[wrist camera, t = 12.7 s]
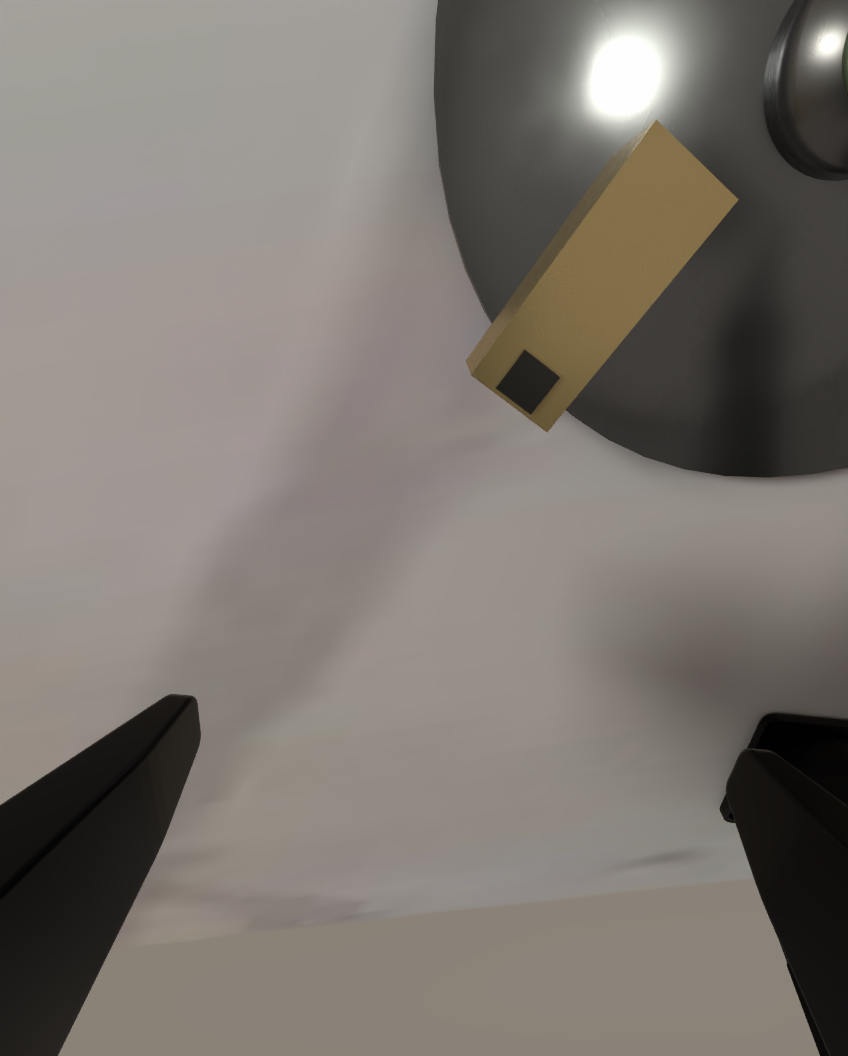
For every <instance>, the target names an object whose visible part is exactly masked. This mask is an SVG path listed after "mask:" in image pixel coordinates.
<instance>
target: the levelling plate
mask: <svg viewBox="0 0 848 1056" xmlns="http://www.w3.org/2000/svg"><path fill="white" fill-rule="evenodd" d="M434 103H435V117H436V130H437V143H438V156H439V167H440V172H441V178H442V183H443V188H444V193H445V199H446V204H447V209H448V214H449V220H450V223H451V226H452V229H453V233H454V236H455V239H456V242H457V245H458V248H459V252H460V255H461V258H462V261H463V264H464V267H465V270H466V272H467V275H468V277H469V279H470V281H471V283H472V285H473V288H474V290H475V292H476V294H477V296H478V299H479V301H480V303H481V305H482V307H483V309H484V312H485V313H486V315H487V317H488V318H489V320H490V321H491V323H493V322H494V320H495V319H496V318H497V316H498V315H499V313H500V312H501V311H502V309H503V308H504V306H505V305H506V304H507V302H508V301H509V299H510V298H511V297H512V295H513V294H514V292H515V291H516V290H517V288H518V287H519V285H520V284H521V283H522V281H523V280H524V278H525V277H526V276H527V274H528V273H529V271H530V270H531V269H532V267H533V266H534V264H535V263H536V262H537V260H538V259H539V257H540V256H541V255H542V253H543V252H544V250H545V249H546V248H547V246H548V245H549V243H550V242H551V241H552V239H553V238H554V236H555V235H556V234H557V232H558V231H559V229H560V228H561V227H562V225H563V224H564V222H565V221H566V220H567V218H568V217H569V215H570V214H571V213H572V211H573V210H574V208H575V207H576V206H577V204H578V203H579V201H580V200H581V199H582V197H583V196H584V194H585V193H586V192H587V190H588V189H589V187H590V186H591V185H592V183H593V182H594V180H595V179H596V178H597V176H598V175H599V173H600V172H601V171H602V169H603V168H604V166H605V165H606V164H607V162H608V161H609V159H610V158H611V157H612V156H613V155H614V154H615V153H616V152H618V151H619V150H620V149H621V148H622V147H624V146H625V145H626V144H627V143H628V142H630V141H631V140H632V139H633V138H634V137H636V136H637V135H638V134H639V133H640V132H642V131H643V130H644V129H645V128H646V127H648V126H649V125H650V124H651V123H653V122H654V121H655V120H656V119H657V120H658V121H659V122H660V123H661V124H662V125H663V126H664V127H665V128H666V129H667V130H668V131H669V132H670V133H671V134H672V135H673V136H674V137H675V138H676V139H677V140H678V141H679V142H680V143H681V144H682V145H683V146H684V147H685V148H686V149H687V150H688V151H689V152H690V153H691V154H692V155H693V156H694V157H695V158H696V159H698V160H699V161H700V162H701V163H702V164H703V165H704V166H705V167H706V168H707V169H708V170H709V171H710V172H711V173H712V174H713V175H714V176H715V177H716V178H717V179H718V180H719V181H720V182H721V183H722V184H723V185H724V186H725V187H726V188H727V189H728V190H729V191H730V192H731V193H732V194H733V195H734V196H735V197H736V198H738V199H739V200H738V201H737V202H736V203H735V205H734V206H733V207H732V208H731V210H730V211H729V212H728V213H727V214H726V216H725V217H724V218H723V219H722V220H721V222H720V223H719V224H718V225H717V227H716V228H715V229H714V230H713V231H712V233H711V234H710V235H709V236H708V237H707V239H706V240H705V241H704V242H703V244H702V245H701V246H700V247H699V248H698V250H697V251H696V252H695V253H694V254H693V256H692V257H691V258H690V259H689V261H688V262H687V263H686V264H685V265H684V267H683V268H682V269H681V270H680V271H679V273H678V274H677V275H676V276H675V278H674V279H673V280H672V281H671V282H670V284H669V285H668V286H667V287H666V288H665V290H664V291H663V292H662V293H661V295H660V296H659V297H658V298H657V299H656V301H655V302H654V303H653V304H652V305H651V307H650V308H649V309H648V310H647V312H646V313H645V314H644V315H643V316H642V318H641V319H640V320H639V321H638V322H637V324H636V325H635V326H634V327H633V329H632V330H631V331H630V332H629V333H628V335H627V336H626V337H625V338H624V339H623V341H622V342H621V343H620V344H619V346H618V347H617V348H616V349H615V350H614V352H613V353H612V354H611V355H610V356H609V358H608V359H607V360H606V361H605V363H604V364H603V365H602V366H601V367H600V369H599V370H598V371H597V372H596V373H595V375H594V376H593V377H592V378H591V380H590V381H589V382H588V383H587V384H586V386H585V387H584V388H583V389H582V390H581V392H580V393H579V394H578V395H577V397H576V398H575V399H574V400H573V401H572V403H571V404H570V405H569V406H568V407H567V409H566V410H567V411H568V412H569V413H570V414H571V415H572V416H574V417H575V418H577V419H578V420H580V421H581V422H583V423H584V424H586V425H587V426H589V427H590V428H592V429H593V430H595V431H596V432H598V433H599V434H601V435H602V436H604V437H605V438H607V439H608V440H610V441H613V442H615V443H617V444H619V445H621V446H623V447H625V448H627V449H629V450H632V451H634V452H636V453H638V454H640V455H642V456H644V457H647V458H650V459H654V460H657V461H660V462H663V463H666V464H670V465H673V466H676V467H679V468H683V469H687V470H693V471H699V472H705V473H711V474H717V475H723V476H745V477H778V476H790V475H802V474H813V473H818V472H823V471H828V470H833V469H838V468H843V467H848V0H438V7H437V15H436V35H435V71H434Z"/></svg>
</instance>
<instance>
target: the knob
mask: <svg viewBox="0 0 848 1056" xmlns="http://www.w3.org/2000/svg"><path fill="white" fill-rule="evenodd" d="M738 200H739V199H738V198H736V197H735V196H734V195H733V194H732V193H731V192H730V191H729V190H728V189H727V188H726V187H725V186H724V185H723V184H722V183H721V182H720V181H719V180H718V179H717V178H716V177H715V176H714V175H713V174H712V173H711V172H710V171H709V170H708V169H707V168H706V167H705V166H704V165H703V164H702V163H701V162H700V161H699V160H698V159H696V158H695V157H694V156H693V155H692V154H691V153H690V152H689V151H688V150H687V149H686V148H685V147H684V146H683V145H682V144H681V143H680V142H679V141H678V140H677V139H676V138H675V137H674V136H673V135H672V134H671V133H670V132H669V131H668V130H667V129H666V128H665V127H664V126H663V125H662V124H661V123H660V122H659V121H658V120H657V119H656V120H655V121H654V122H653V123H651V124H650V125H649V126H648V127H646V128H645V129H644V130H643V131H642V132H640V133H639V134H638V135H637V136H636V137H634V138H633V139H632V140H631V141H630V142H628V143H627V144H626V145H625V146H624V147H622V148H621V149H620V150H619V151H618V152H616V153H615V154H614V155H613V156H612V157H611V158H610V159H609V161H608V162H607V164H606V165H605V166H604V168H603V169H602V171H601V172H600V173H599V175H598V176H597V178H596V179H595V180H594V182H593V183H592V185H591V186H590V187H589V189H588V190H587V192H586V193H585V194H584V196H583V197H582V199H581V200H580V201H579V203H578V204H577V206H576V207H575V208H574V210H573V211H572V213H571V214H570V215H569V217H568V218H567V220H566V221H565V222H564V224H563V225H562V227H561V228H560V229H559V231H558V232H557V234H556V235H555V236H554V238H553V239H552V241H551V242H550V243H549V245H548V246H547V248H546V249H545V250H544V252H543V253H542V255H541V256H540V257H539V259H538V260H537V262H536V263H535V264H534V266H533V267H532V269H531V270H530V271H529V273H528V274H527V276H526V277H525V278H524V280H523V281H522V283H521V284H520V285H519V287H518V288H517V290H516V291H515V292H514V294H513V295H512V297H511V298H510V299H509V301H508V302H507V304H506V305H505V306H504V308H503V309H502V311H501V312H500V313H499V315H498V316H497V318H496V319H495V320H494V322H493V323H492V325H491V326H490V327H489V329H488V330H487V332H486V333H485V334H484V336H483V337H482V339H481V340H480V342H479V343H478V344H477V346H476V347H475V349H474V350H473V351H472V353H471V354H470V356H469V357H468V358H467V360H466V363H467V365H468V368H469V371H470V374H471V375H472V376H473V377H474V378H476V379H477V380H478V381H480V382H481V383H482V384H484V385H485V386H486V387H488V388H489V389H490V390H492V391H493V392H494V393H496V394H497V395H498V396H500V397H501V398H502V399H504V400H505V401H506V402H507V403H509V404H510V405H511V406H513V407H514V408H515V409H517V410H518V411H519V412H521V413H522V414H523V415H525V416H526V417H527V418H529V419H530V420H531V421H533V422H534V423H535V424H537V425H538V426H539V427H541V428H542V429H543V430H545V431H546V432H548V431H549V429H550V428H551V427H552V426H553V424H554V423H555V422H556V421H557V420H558V418H559V417H560V416H561V415H562V414H563V412H564V411H565V410H566V409H567V407H568V406H569V405H570V404H571V403H572V401H573V400H574V399H575V398H576V397H577V395H578V394H579V393H580V392H581V390H582V389H583V388H584V387H585V386H586V384H587V383H588V382H589V381H590V380H591V378H592V377H593V376H594V375H595V373H596V372H597V371H598V370H599V369H600V367H601V366H602V365H603V364H604V363H605V361H606V360H607V359H608V358H609V356H610V355H611V354H612V353H613V352H614V350H615V349H616V348H617V347H618V346H619V344H620V343H621V342H622V341H623V339H624V338H625V337H626V336H627V335H628V333H629V332H630V331H631V330H632V329H633V327H634V326H635V325H636V324H637V322H638V321H639V320H640V319H641V318H642V316H643V315H644V314H645V313H646V312H647V310H648V309H649V308H650V307H651V305H652V304H653V303H654V302H655V301H656V299H657V298H658V297H659V296H660V295H661V293H662V292H663V291H664V290H665V288H666V287H667V286H668V285H669V284H670V282H671V281H672V280H673V279H674V278H675V276H676V275H677V274H678V273H679V271H680V270H681V269H682V268H683V267H684V265H685V264H686V263H687V262H688V261H689V259H690V258H691V257H692V256H693V254H694V253H695V252H696V251H697V250H698V248H699V247H700V246H701V245H702V244H703V242H704V241H705V240H706V239H707V237H708V236H709V235H710V234H711V233H712V231H713V230H714V229H715V228H716V227H717V225H718V224H719V223H720V222H721V220H722V219H723V218H724V217H725V216H726V214H727V213H728V212H729V211H730V210H731V208H732V207H733V206H734V205H735V203H736V202H737V201H738Z"/></svg>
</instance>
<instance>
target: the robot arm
mask: <svg viewBox="0 0 848 1056" xmlns="http://www.w3.org/2000/svg"><path fill="white" fill-rule="evenodd" d="M200 739H201V730H200V721H199V712H198V704H197V700H196V698H195V697H193V696H190V695H179V694H170V695H167V696H165V697H164V698H162V699H161V700H159V701H158V702H156V703H155V704H153V705H151V706H150V707H148V708H147V709H145V710H144V711H142V712H141V713H139V714H138V715H136V716H135V717H133V718H132V719H130V720H129V721H127V722H126V723H124V724H123V725H121V726H120V727H118V728H117V729H115V730H113V731H112V732H110V733H109V734H107V735H106V736H104V737H103V738H101V739H100V740H98V741H97V742H95V743H94V744H92V745H91V746H89V747H88V748H86V749H85V750H83V751H82V752H80V753H79V754H77V755H76V756H74V757H72V758H71V759H69V760H68V761H66V762H65V763H63V764H62V765H60V766H59V767H57V768H56V769H54V770H53V771H51V772H50V773H48V774H47V775H45V776H44V777H42V778H41V779H39V780H38V781H36V782H34V783H33V784H31V785H30V786H28V787H27V788H25V789H24V790H22V791H21V792H19V793H18V794H16V795H15V796H13V797H12V798H10V799H9V800H7V801H6V802H4V803H3V804H1V805H0V1056H58V1054H59V1052H60V1050H61V1048H62V1046H63V1044H64V1042H65V1040H66V1038H67V1036H68V1034H69V1032H70V1030H71V1028H72V1026H73V1024H74V1022H75V1020H76V1018H77V1016H78V1014H79V1012H80V1010H81V1007H82V1006H83V1004H84V1002H85V1000H86V998H87V996H88V994H89V991H90V990H91V988H92V985H93V984H94V981H95V979H96V977H97V975H98V973H99V971H100V969H101V967H102V965H103V963H104V961H105V959H106V957H107V955H108V953H109V951H110V949H111V947H112V945H113V943H114V941H115V939H116V937H117V935H118V933H119V931H120V929H121V927H122V925H123V923H124V921H125V919H126V917H127V915H128V913H129V911H130V909H131V907H132V905H133V903H134V901H135V899H136V897H137V894H138V892H139V890H140V888H141V886H142V884H143V882H144V880H145V878H146V876H147V874H148V872H149V870H150V868H151V866H152V864H153V862H154V860H155V858H156V856H157V854H158V851H159V849H160V847H161V845H162V843H163V840H164V838H165V835H166V833H167V830H168V828H169V825H170V823H171V820H172V817H173V815H174V812H175V809H176V807H177V804H178V801H179V799H180V796H181V793H182V791H183V788H184V785H185V783H186V780H187V777H188V775H189V772H190V769H191V767H192V764H193V761H194V759H195V756H196V753H197V751H198V748H199V744H200ZM720 812H721V814H722V816H723V818H724V820H725V821H727V822H730V823H736V826H737V829H738V832H739V835H740V838H741V841H742V844H743V847H744V850H745V853H746V856H747V859H748V862H749V865H750V868H751V871H752V874H753V877H754V880H755V882H756V885H757V888H758V891H759V893H760V896H761V899H762V901H763V904H764V906H765V909H766V911H767V913H768V916H769V918H770V921H771V923H772V925H773V927H774V929H775V932H776V934H777V937H778V939H779V942H780V944H781V947H782V950H783V952H784V955H785V958H786V961H787V967H788V970H789V973H790V975H791V978H792V981H793V984H794V986H795V989H796V992H797V994H798V997H799V1000H800V1002H801V1005H802V1008H803V1011H804V1013H805V1016H806V1019H807V1022H808V1024H809V1027H810V1030H811V1032H812V1035H813V1038H814V1040H815V1043H816V1046H817V1048H818V1051H819V1054H820V1056H848V721H842V720H832V719H821V718H811V717H801V716H790V715H780V714H770V715H767V716H765V717H763V718H762V719H761V721H760V722H759V724H758V726H757V729H756V731H755V733H754V735H753V737H752V739H751V741H750V744H749V746H748V748H747V749H744V750H743V751H742V752H741V753H740V755H739V757H738V759H737V761H736V763H735V766H734V768H733V770H732V772H731V774H730V777H729V779H728V781H727V785H726V795H725V797H724V799H723V802H722V804H721V806H720Z"/></svg>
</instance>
